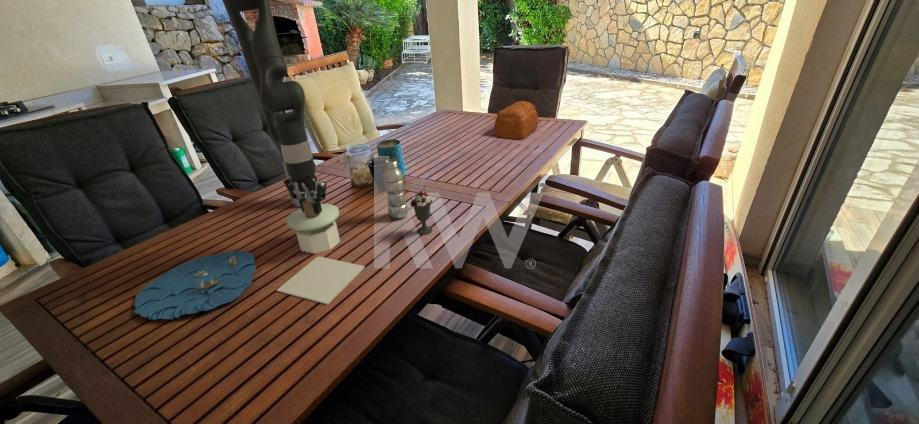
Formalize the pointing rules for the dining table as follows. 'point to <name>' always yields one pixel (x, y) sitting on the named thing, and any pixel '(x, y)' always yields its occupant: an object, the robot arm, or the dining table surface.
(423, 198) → the sundae
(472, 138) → the dining table surface
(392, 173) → the plastic bottle
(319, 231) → the bowl
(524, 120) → the bread
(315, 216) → the lid
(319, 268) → the mat
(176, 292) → the decorative plate
